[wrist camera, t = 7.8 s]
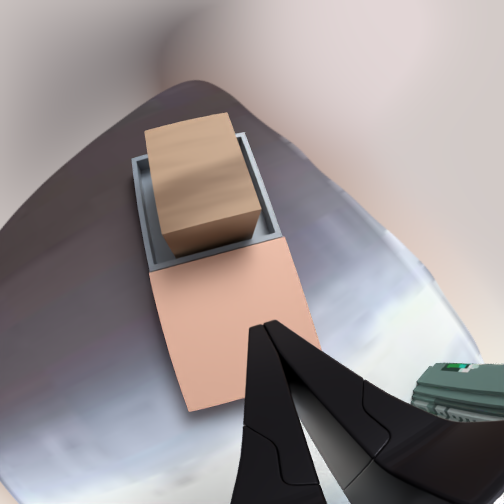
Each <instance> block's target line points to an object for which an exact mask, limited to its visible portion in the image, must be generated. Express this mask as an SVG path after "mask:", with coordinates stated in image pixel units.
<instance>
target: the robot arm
mask: <svg viewBox="0 0 504 504" xmlns="http://www.w3.org/2000/svg"><path fill="white" fill-rule="evenodd" d="M299 418H300V420H301V422H302V424H303V425H304V427H305V429H306V430H307V432H308V434H309V436H310V437H311V439H312V441H313V442H314V444H315V446H316V448H317V449H318V451H319V453H320V454H321V456H322V458H323V459H324V461H325V463H326V464H327V466H328V468H329V469H330V471H331V473H332V474H333V476H334V477H335V479H336V481H337V482H338V484H339V486H340V487H341V489H342V490H344V491H343V492H344V494H345V495H346V497H347V498H348V500H349V502H350V503H351V504H504V420H497V421H479V422H458V421H451V420H447V419H444V418H441V417H439V416H436V415H434V414H431V413H429V412H427V411H424V410H422V409H420V408H418V407H415V406H413V405H411V404H409V403H406V402H404V401H402V400H400V399H398V398H396V397H394V396H392V395H390V394H388V393H387V392H385V391H383V390H381V389H380V388H378V387H376V386H375V385H373V384H372V383H370V382H369V381H367V380H364V379H363V378H362V377H361V376H359V375H358V374H356V373H354V372H353V371H351V370H350V369H348V368H347V367H345V366H344V365H342V364H341V363H339V362H338V361H336V360H335V359H333V358H332V357H330V356H329V355H327V354H326V353H324V352H323V351H321V350H320V349H318V348H317V347H315V346H314V345H312V344H311V343H309V342H308V341H306V340H305V339H304V338H302V337H301V336H299V335H298V334H296V333H295V332H293V331H292V330H291V329H289V328H288V327H286V326H285V325H283V324H282V323H281V322H279V321H278V320H271V321H268V322H265V323H264V324H263V325H262V324H258V325H255V326H252V327H250V328H249V334H248V351H247V369H246V386H245V403H244V421H243V425H244V426H243V435H242V447H241V456H240V462H239V467H238V473H237V477H236V482H235V486H234V490H233V494H232V499H231V503H230V504H327V502H326V499H325V497H324V494H323V491H322V488H321V486H320V485H319V484H320V482H319V479H318V476H317V473H316V470H315V467H314V463H313V460H312V457H311V454H310V451H309V448H308V445H307V442H306V438H305V435H304V432H303V429H302V426H301V423H300V420H299Z"/></svg>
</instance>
